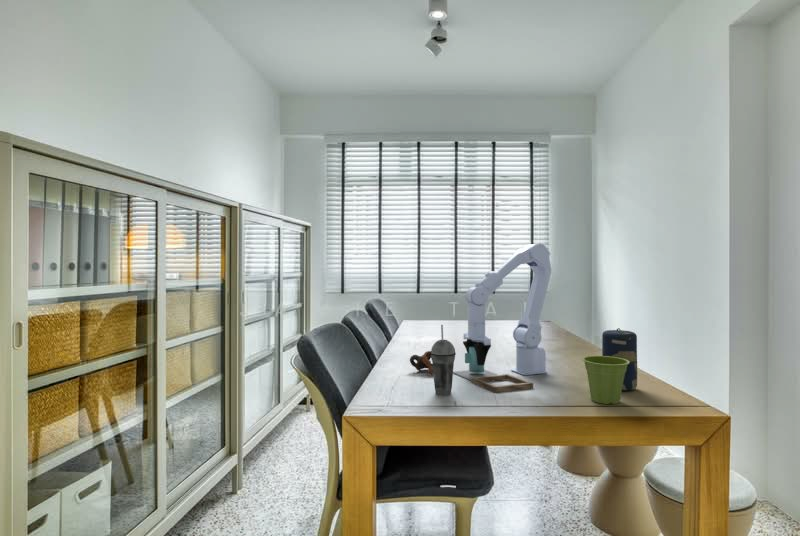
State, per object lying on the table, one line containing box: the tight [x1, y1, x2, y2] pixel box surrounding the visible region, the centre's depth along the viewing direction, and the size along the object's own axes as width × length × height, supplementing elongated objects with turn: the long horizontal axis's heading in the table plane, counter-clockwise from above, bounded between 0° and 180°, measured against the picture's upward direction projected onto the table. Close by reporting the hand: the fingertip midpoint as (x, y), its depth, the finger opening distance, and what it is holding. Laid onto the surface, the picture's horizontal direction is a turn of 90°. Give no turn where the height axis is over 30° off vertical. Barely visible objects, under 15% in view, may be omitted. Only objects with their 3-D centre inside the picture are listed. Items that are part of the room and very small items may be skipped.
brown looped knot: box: [409, 350, 434, 376], centre depth 173 cm, size 12×10×8 cm
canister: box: [601, 327, 638, 391], centre depth 150 cm, size 10×10×18 cm
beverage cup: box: [430, 324, 457, 397], centre depth 145 cm, size 7×7×20 cm
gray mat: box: [453, 369, 499, 382], centre depth 168 cm, size 12×12×1 cm
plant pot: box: [581, 355, 630, 405], centre depth 136 cm, size 12×12×11 cm
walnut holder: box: [471, 373, 534, 393], centre depth 154 cm, size 13×13×2 cm
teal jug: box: [464, 346, 485, 373], centre depth 168 cm, size 7×5×8 cm
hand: (476, 363), depth 168 cm, fingers closed on teal jug, 5 cm apart
